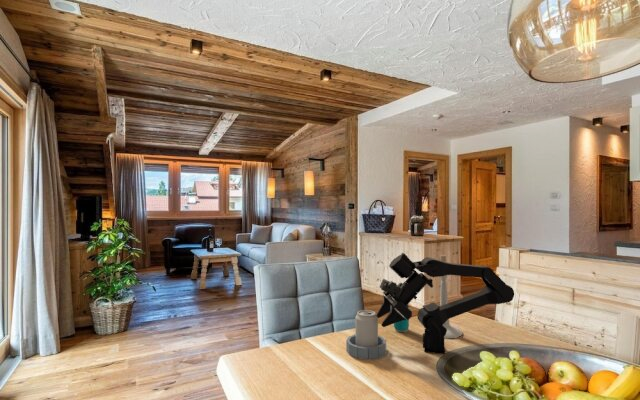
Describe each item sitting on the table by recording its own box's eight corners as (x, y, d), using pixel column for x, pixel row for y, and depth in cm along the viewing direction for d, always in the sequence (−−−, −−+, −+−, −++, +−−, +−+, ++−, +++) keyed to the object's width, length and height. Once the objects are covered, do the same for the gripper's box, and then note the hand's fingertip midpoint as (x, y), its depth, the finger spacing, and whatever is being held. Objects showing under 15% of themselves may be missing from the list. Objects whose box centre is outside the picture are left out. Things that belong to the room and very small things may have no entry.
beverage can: (407, 327, 140) (407, 290, 140) (410, 333, 134) (409, 293, 134) (393, 327, 141) (392, 290, 141) (394, 332, 135) (394, 293, 135)
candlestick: (425, 336, 131) (424, 255, 132) (428, 325, 143) (427, 251, 143) (462, 340, 126) (460, 257, 127) (462, 329, 138) (461, 252, 139)
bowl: (387, 345, 123) (387, 335, 123) (383, 361, 110) (383, 350, 110) (351, 341, 126) (351, 331, 126) (343, 356, 114) (343, 345, 114)
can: (382, 347, 119) (381, 311, 119) (370, 354, 113) (370, 317, 113) (363, 341, 124) (363, 307, 124) (351, 348, 118) (350, 312, 118)
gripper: (388, 266, 128) (358, 297, 128) (400, 276, 110) (366, 313, 109) (410, 287, 128) (380, 318, 128) (426, 301, 110) (392, 338, 109)
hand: (379, 321), depth 119 cm, fingers open, 9 cm apart
